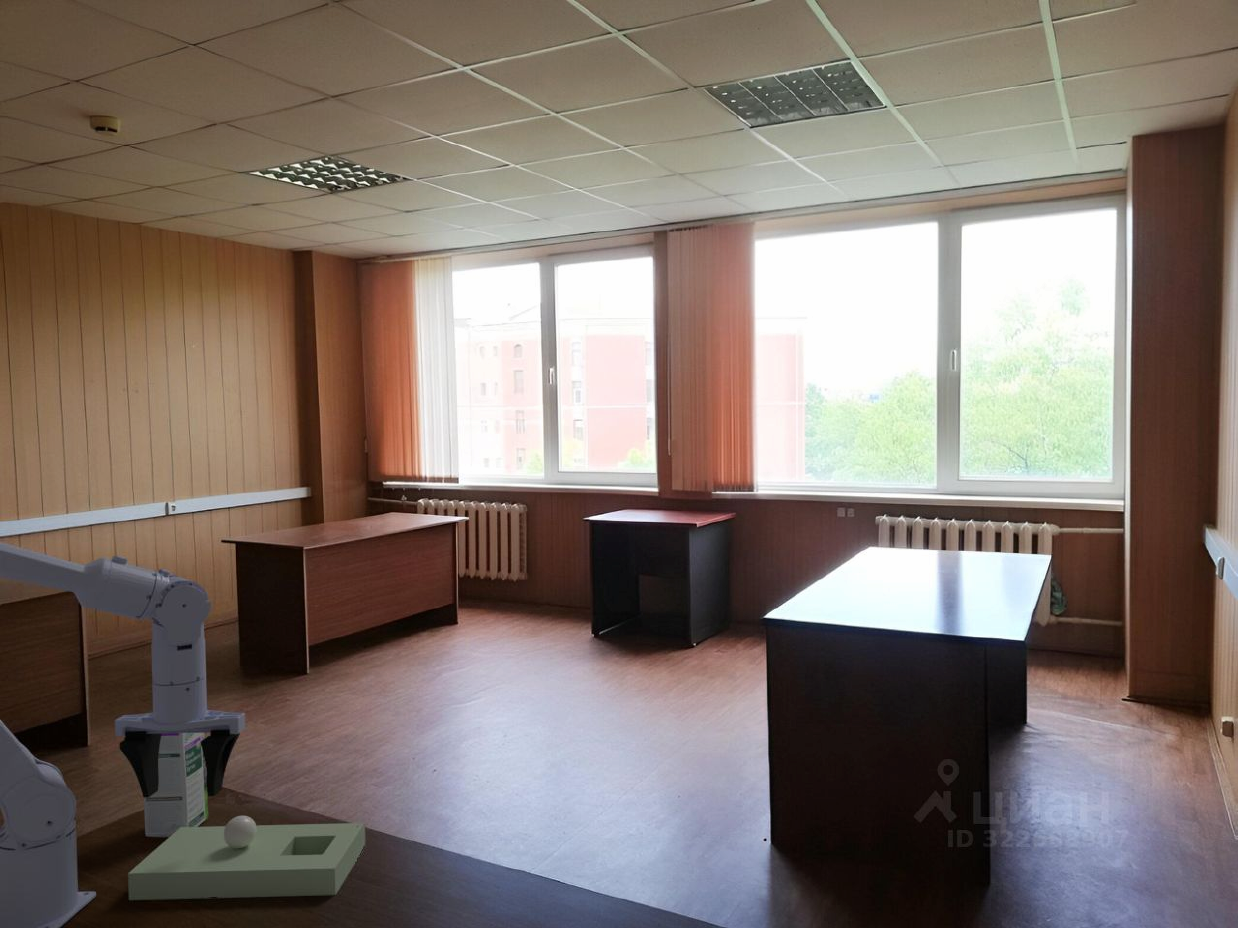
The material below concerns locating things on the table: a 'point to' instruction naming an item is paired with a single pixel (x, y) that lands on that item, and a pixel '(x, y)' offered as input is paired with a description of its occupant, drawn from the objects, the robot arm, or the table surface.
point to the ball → (240, 832)
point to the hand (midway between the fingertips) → (182, 793)
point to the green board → (249, 863)
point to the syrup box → (178, 786)
